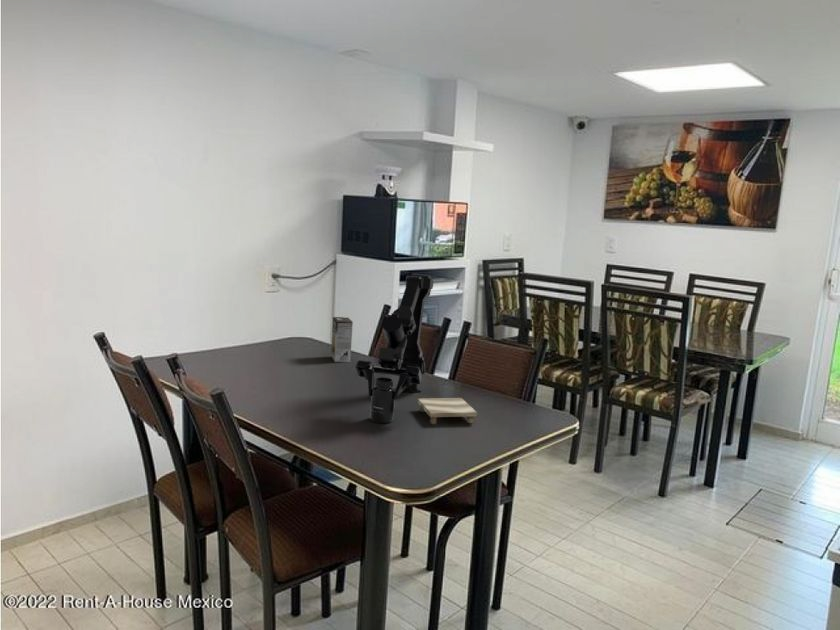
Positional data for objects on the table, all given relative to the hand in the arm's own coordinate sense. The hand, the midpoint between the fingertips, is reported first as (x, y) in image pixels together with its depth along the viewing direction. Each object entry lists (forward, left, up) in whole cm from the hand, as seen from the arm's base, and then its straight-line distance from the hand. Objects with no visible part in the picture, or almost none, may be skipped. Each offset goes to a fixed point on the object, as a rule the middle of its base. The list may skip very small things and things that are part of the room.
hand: (381, 397), depth 180 cm
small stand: (-3, +21, -7) cm, 22 cm away
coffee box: (-74, 0, -7) cm, 75 cm away
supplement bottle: (-1, +1, -7) cm, 7 cm away
